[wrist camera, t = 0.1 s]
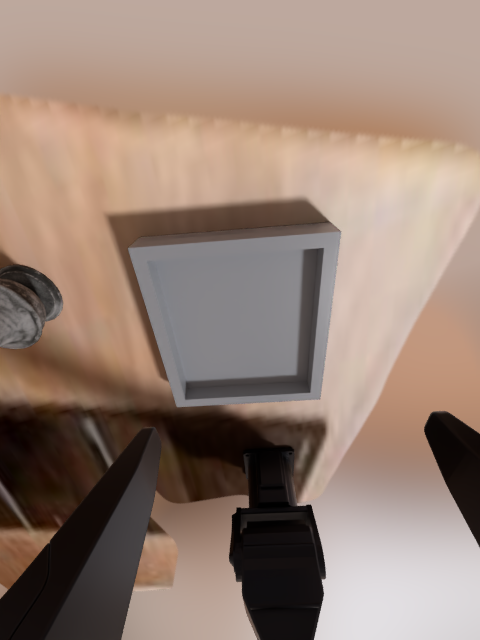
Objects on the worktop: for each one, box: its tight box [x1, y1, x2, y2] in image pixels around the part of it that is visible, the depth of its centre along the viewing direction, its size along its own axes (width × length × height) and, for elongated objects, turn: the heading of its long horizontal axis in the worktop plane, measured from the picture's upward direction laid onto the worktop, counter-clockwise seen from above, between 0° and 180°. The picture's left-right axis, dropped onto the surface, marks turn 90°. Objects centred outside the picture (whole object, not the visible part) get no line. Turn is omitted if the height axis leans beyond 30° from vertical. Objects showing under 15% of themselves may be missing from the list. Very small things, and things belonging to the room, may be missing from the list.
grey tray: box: [128, 222, 341, 407], centre depth 23 cm, size 16×14×2 cm
